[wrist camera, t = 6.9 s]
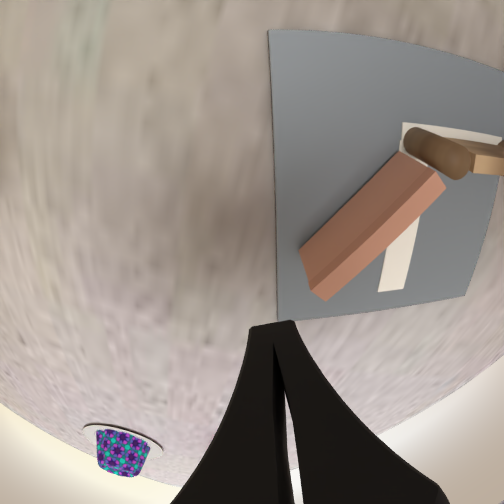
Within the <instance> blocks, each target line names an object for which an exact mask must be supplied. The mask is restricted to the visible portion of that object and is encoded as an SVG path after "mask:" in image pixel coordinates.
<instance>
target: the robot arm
mask: <svg viewBox="0 0 504 504" xmlns="http://www.w3.org/2000/svg"><path fill="white" fill-rule="evenodd" d="M284 390H285V391H284ZM285 394H286V398H287V402H288V405H289V409H290V413H291V417H292V421H293V427H294V434H295V441H296V449H297V456H298V463H299V471H300V479H301V487H302V495H303V503H304V504H450V503H449V501H448V499H447V497H446V495H445V494H444V492H443V491H442V489H441V488H440V486H439V485H438V484H437V483H435V482H434V481H432V480H431V479H429V478H428V477H426V476H425V475H423V474H422V473H421V472H419V471H418V470H416V469H415V468H414V467H412V466H411V465H410V464H409V463H407V462H406V461H405V460H403V459H402V458H401V457H400V456H398V455H397V454H396V453H395V452H394V451H392V450H391V449H390V448H389V447H388V446H387V445H386V444H385V443H384V442H383V441H381V440H380V439H379V438H378V437H377V436H376V435H375V434H374V433H373V432H372V431H371V430H370V429H369V428H368V427H367V426H366V425H365V424H364V423H363V422H362V421H361V420H360V419H359V418H358V417H357V416H356V415H355V414H354V413H353V411H352V410H351V409H350V408H349V407H348V406H347V405H346V403H345V402H344V401H343V400H342V399H341V397H340V396H339V395H338V394H337V392H336V391H335V390H334V388H333V387H332V386H331V384H330V383H329V382H328V380H327V379H326V378H325V376H324V375H323V373H322V372H321V370H320V369H319V367H318V366H317V364H316V363H315V361H314V360H313V358H312V357H311V355H310V353H309V352H308V350H307V348H306V346H305V344H304V343H303V341H302V339H301V337H300V334H299V332H298V330H297V327H296V325H295V321H293V320H291V319H290V320H285V321H280V322H275V323H270V324H264V325H259V326H253V327H251V328H250V329H249V335H248V342H247V347H246V352H245V356H244V360H243V364H242V367H241V370H240V374H239V377H238V380H237V383H236V386H235V389H234V392H233V394H232V397H231V400H230V402H229V405H228V407H227V410H226V412H225V415H224V417H223V419H222V421H221V424H220V426H219V428H218V430H217V432H216V434H215V436H214V438H213V440H212V442H211V444H210V445H209V447H208V449H207V451H206V452H205V454H204V456H203V458H202V459H201V461H200V463H199V464H198V466H197V467H196V469H195V471H194V472H193V473H192V475H191V476H190V478H189V479H188V481H187V482H186V483H185V485H184V486H183V488H182V489H181V490H180V492H179V493H178V495H177V496H176V497H175V498H174V500H173V501H172V502H171V503H170V504H295V503H294V496H293V489H292V483H291V476H290V469H289V462H288V451H287V432H286V410H285ZM499 504H504V501H502V502H501V503H499Z"/></svg>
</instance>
